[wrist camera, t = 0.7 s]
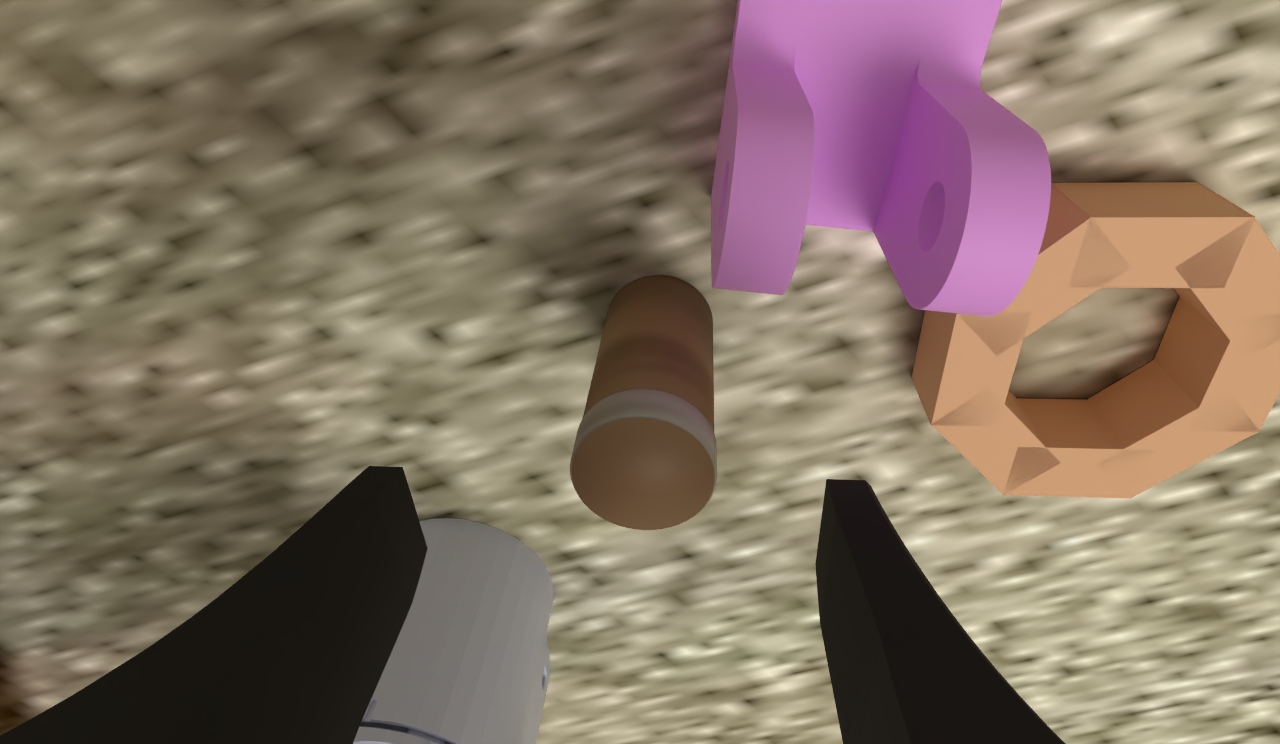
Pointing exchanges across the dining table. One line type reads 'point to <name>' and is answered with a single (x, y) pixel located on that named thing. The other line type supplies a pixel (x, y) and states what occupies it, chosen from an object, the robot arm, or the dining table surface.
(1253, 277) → the orange flat ring
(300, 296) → the dining table surface
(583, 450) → the peg
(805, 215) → the bracket
